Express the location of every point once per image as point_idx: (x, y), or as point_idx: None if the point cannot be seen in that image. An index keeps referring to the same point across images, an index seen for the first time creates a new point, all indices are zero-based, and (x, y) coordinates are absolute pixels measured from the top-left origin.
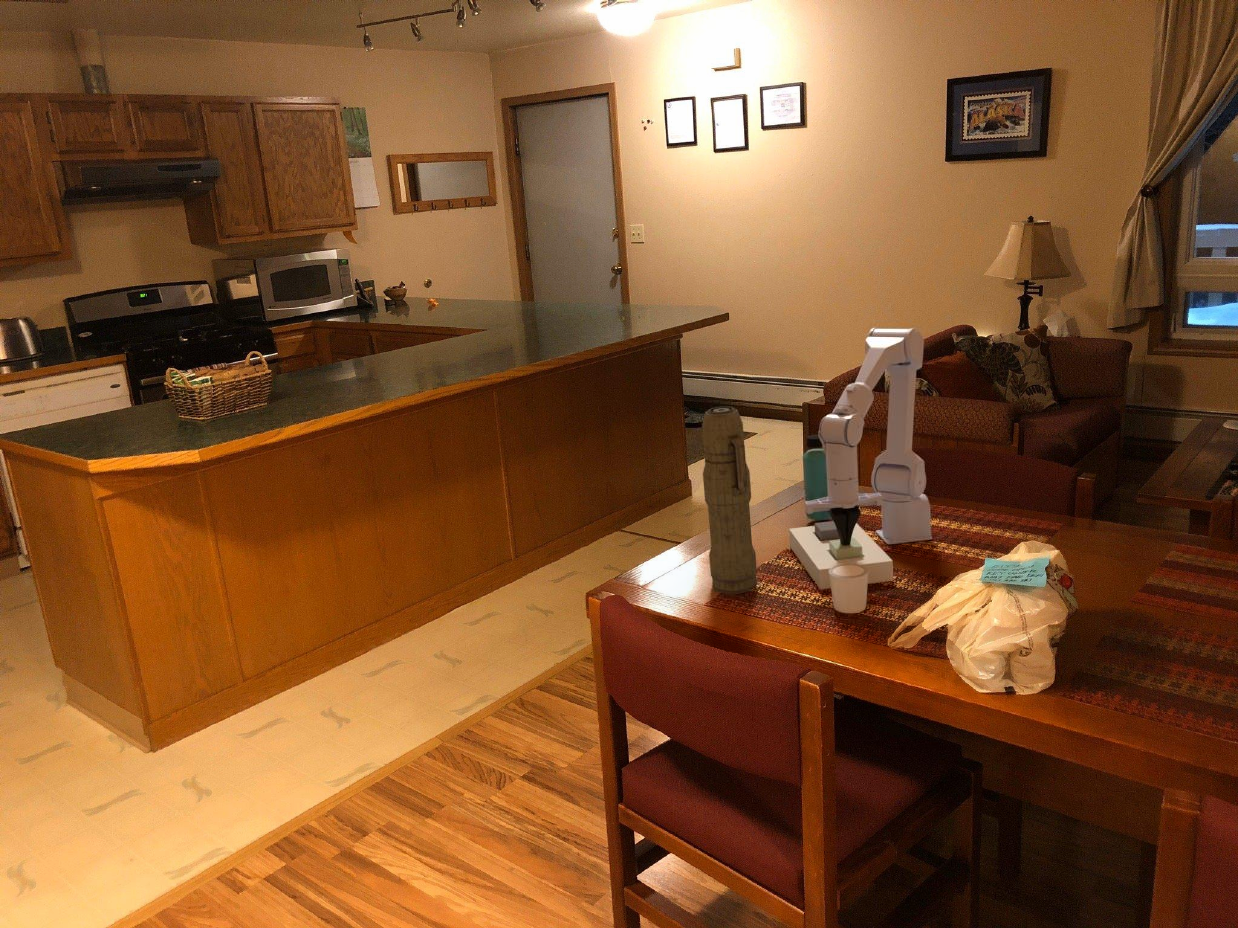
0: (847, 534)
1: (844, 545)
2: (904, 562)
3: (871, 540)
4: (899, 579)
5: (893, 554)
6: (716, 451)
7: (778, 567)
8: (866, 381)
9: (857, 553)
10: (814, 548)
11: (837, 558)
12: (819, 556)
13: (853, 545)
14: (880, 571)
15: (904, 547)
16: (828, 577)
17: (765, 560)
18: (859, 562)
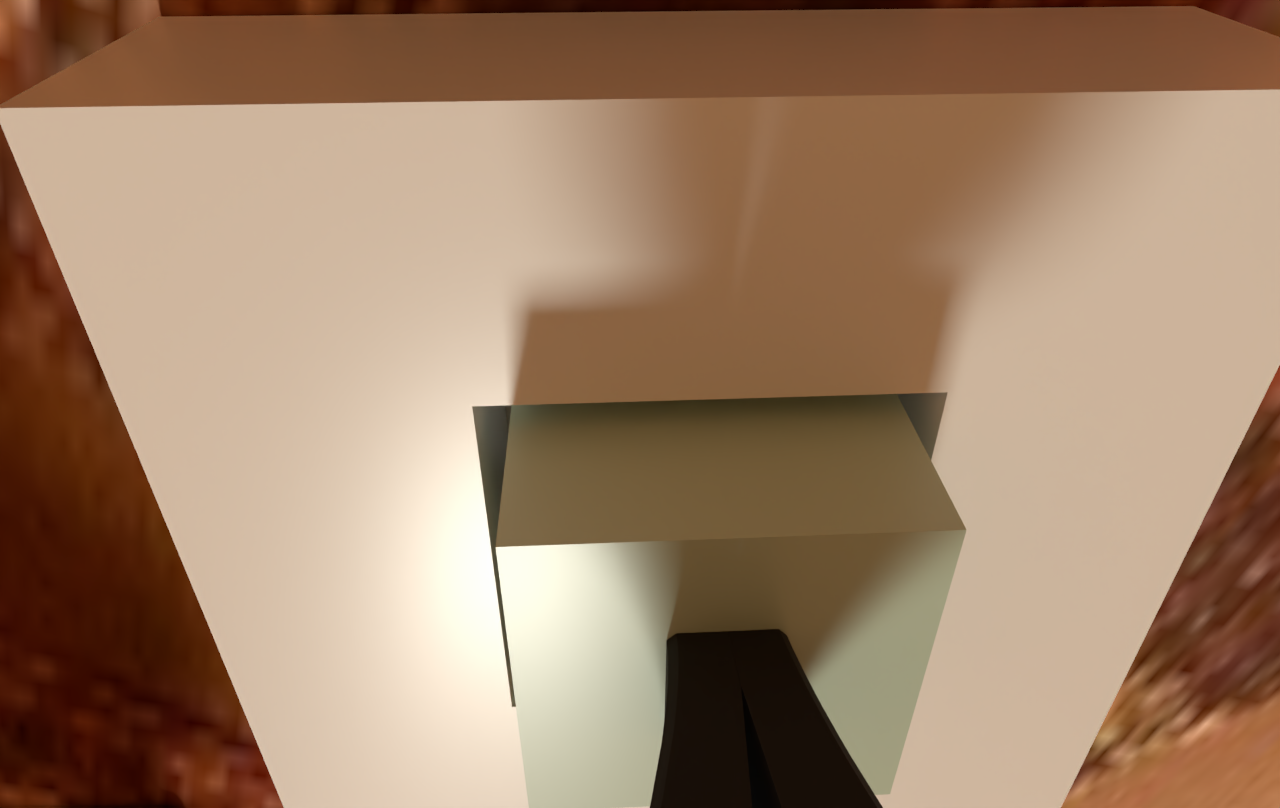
0: (750, 806)
1: (767, 632)
2: (17, 496)
3: (298, 798)
4: (68, 38)
5: (134, 665)
6: None
7: (1189, 633)
8: None
9: (585, 463)
10: (978, 743)
11: (900, 426)
12: (1064, 553)
13: (627, 607)
14: (300, 54)
15: (30, 756)
16: (1159, 43)
17: (1188, 749)
18: (625, 208)
